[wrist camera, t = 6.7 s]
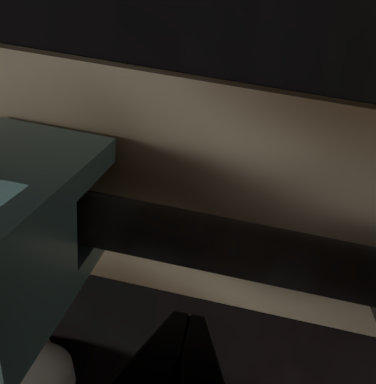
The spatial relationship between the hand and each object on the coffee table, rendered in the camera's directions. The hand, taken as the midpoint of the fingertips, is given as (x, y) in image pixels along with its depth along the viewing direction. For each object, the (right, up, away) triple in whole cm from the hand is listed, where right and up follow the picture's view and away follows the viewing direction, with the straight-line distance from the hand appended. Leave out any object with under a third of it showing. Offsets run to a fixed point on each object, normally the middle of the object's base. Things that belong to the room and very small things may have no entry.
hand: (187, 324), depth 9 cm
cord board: (-2, +4, +7) cm, 8 cm away
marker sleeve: (-6, +4, +6) cm, 9 cm away
